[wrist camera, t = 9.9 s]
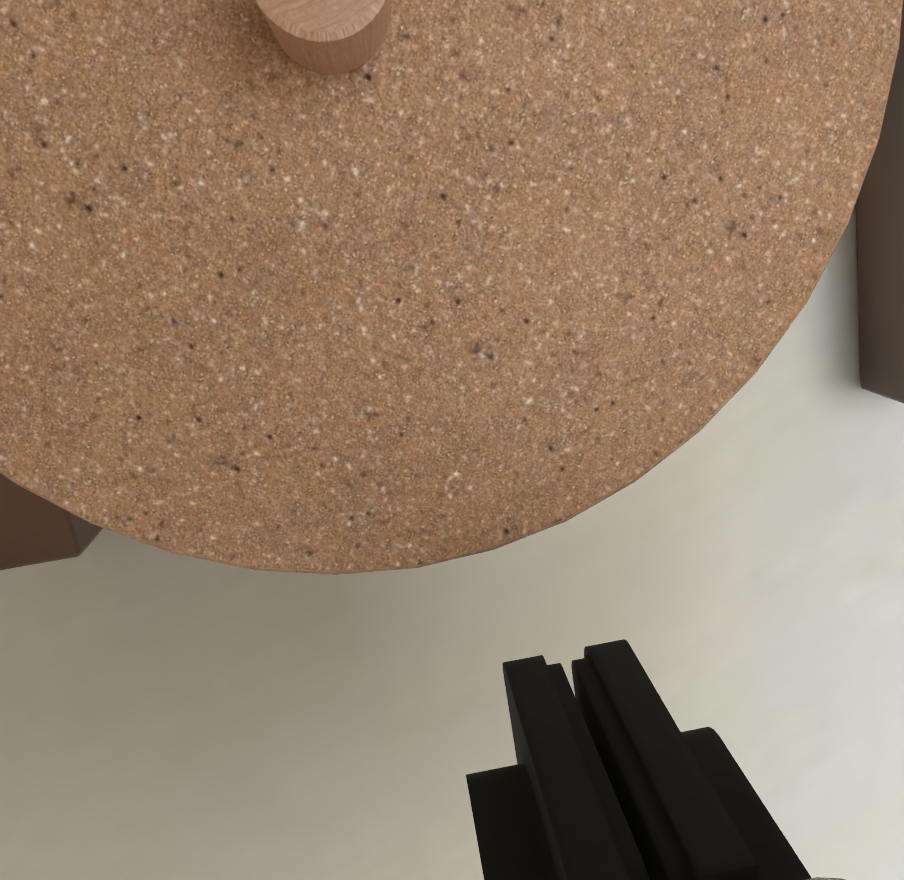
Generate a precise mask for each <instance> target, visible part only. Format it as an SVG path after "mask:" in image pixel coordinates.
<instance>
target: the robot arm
mask: <svg viewBox="0 0 904 880" xmlns="http://www.w3.org/2000/svg"><path fill="white" fill-rule="evenodd" d="M503 673H504V680H505V686H506V693H507V699H508V706H509V712H510V718H511V725H512V731H513V738H514V744H515V751H516V757H517V764H518V765H513V766H508V767H503V768H498V769H493V770H488V771H483V772H478V773H473V774H468V775H466V778H467V784H468V789H469V795H470V801H471V806H472V812H473V818H474V824H475V829H476V835H477V841H478V846H479V852H480V858H481V863H482V869H483V875H484V880H844V879H839V878H819V877H816V878H811V876H810V875H809V873H808V872H807V870H806V869H805V867H804V866H803V864H802V863H801V861H800V859H799V858H798V856H797V855H796V853H795V852H794V850H793V849H792V847H791V846H790V844H789V843H788V841H787V839H786V838H785V836H784V835H783V833H782V832H781V830H780V829H779V827H778V826H777V824H776V823H775V821H774V820H773V818H772V816H771V815H770V813H769V812H768V810H767V809H766V807H765V806H764V804H763V803H762V801H761V800H760V798H759V796H758V795H757V793H756V792H755V790H754V789H753V787H752V786H751V784H750V783H749V781H748V780H747V778H746V776H745V775H744V773H743V772H742V770H741V769H740V767H739V766H738V764H737V763H736V761H735V760H734V758H733V757H732V755H731V753H730V752H729V750H728V749H727V747H726V746H725V744H724V743H723V741H722V740H721V738H720V737H719V735H718V734H717V733H716V732H715V730H714V729H712V728H710V727H705V728H700V729H695V730H690V731H685V732H680V730H679V729H678V727H677V725H676V724H675V722H674V720H673V718H672V717H671V715H670V713H669V712H668V710H667V708H666V706H665V705H664V703H663V701H662V700H661V698H660V696H659V694H658V693H657V691H656V689H655V688H654V686H653V684H652V682H651V681H650V679H649V677H648V676H647V674H646V672H645V670H644V669H643V667H642V665H641V664H640V662H639V660H638V659H637V657H636V655H635V653H634V652H633V650H632V648H631V647H630V645H629V643H628V642H627V641H626V640H618V641H613V642H608V643H603V644H597V645H592V646H587V647H585V649H584V658H583V659H578V660H573V661H572V674H573V682H574V690H575V696H574V694H573V691H572V689H571V686H570V684H569V682H568V679H567V677H566V674H565V672H564V670H563V667H562V665H561V664H560V663H557V664H552V665H547V664H546V662H545V659H544V657H543V656H542V655H540V656H535V657H530V658H524V659H519V660H514V661H509V662H503Z"/></svg>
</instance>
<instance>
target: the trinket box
mask: <svg viewBox="0 0 904 880" xmlns="http://www.w3.org/2000/svg"><path fill="white" fill-rule="evenodd" d="M902 4H903V0H0V473H1V474H2V475H4V476H5V477H7V478H8V479H9V480H11V481H12V482H14V483H15V484H17V485H19V486H21V487H23V488H25V489H27V490H29V491H31V492H32V493H34V494H36V495H38V496H40V497H42V498H44V499H46V500H48V501H50V502H52V503H53V504H55V505H57V506H59V507H61V508H63V509H65V510H67V511H69V512H71V513H72V514H74V515H76V516H78V517H80V518H82V519H84V520H86V521H88V522H90V523H91V524H94V525H97V526H99V527H102V528H105V529H108V530H110V531H113V532H116V533H119V534H122V535H124V536H127V537H130V538H133V539H136V540H138V541H141V542H144V543H147V544H150V545H152V546H155V547H158V548H161V549H164V550H166V551H169V552H172V553H176V554H181V555H185V556H190V557H195V558H200V559H205V560H210V561H215V562H219V563H224V564H229V565H234V566H239V567H244V568H249V569H253V570H266V571H283V572H300V573H317V574H334V575H338V574H350V573H362V572H374V571H385V570H397V569H409V568H418V567H422V566H426V565H431V564H435V563H439V562H443V561H448V560H452V559H456V558H460V557H465V556H469V555H473V554H477V553H482V552H486V551H490V550H494V549H496V548H499V547H501V546H504V545H507V544H509V543H512V542H514V541H517V540H519V539H522V538H524V537H527V536H529V535H532V534H535V533H537V532H540V531H542V530H545V529H547V528H550V527H552V526H555V525H557V524H560V523H563V522H565V521H567V520H569V519H571V518H573V517H574V516H576V515H578V514H579V513H581V512H583V511H585V510H586V509H588V508H590V507H592V506H593V505H595V504H597V503H599V502H600V501H602V500H604V499H606V498H607V497H609V496H611V495H613V494H614V493H616V492H618V491H620V490H621V489H623V488H625V487H627V486H628V485H630V484H632V483H634V482H635V481H637V480H638V479H639V478H641V477H642V476H643V475H644V474H646V473H647V472H648V471H649V470H651V469H652V468H653V467H655V466H656V465H657V464H658V463H660V462H661V461H662V460H664V459H665V458H666V457H667V456H669V455H670V454H671V453H673V452H674V451H675V450H676V449H678V448H679V447H680V446H682V445H683V444H684V443H685V442H687V441H688V440H689V439H690V438H692V437H693V436H694V435H696V434H697V433H698V432H699V431H700V430H701V429H702V428H703V427H704V426H705V425H706V424H707V423H708V422H709V421H710V420H711V419H712V418H713V417H714V416H715V415H716V414H717V413H718V412H719V411H720V410H721V408H722V407H723V406H724V405H725V404H726V403H727V402H728V401H729V400H730V399H731V398H732V397H733V396H734V395H735V394H736V393H737V392H738V391H739V390H740V389H741V388H742V387H743V386H744V384H745V383H746V382H747V381H748V380H749V379H750V378H751V377H752V376H753V375H754V374H755V373H756V372H757V371H758V369H759V368H760V366H761V365H762V364H763V362H764V361H765V360H766V358H767V357H768V355H769V354H770V353H771V351H772V350H773V348H774V347H775V346H776V344H777V343H778V342H779V340H780V339H781V337H782V336H783V335H784V333H785V332H786V330H787V329H788V328H789V326H790V325H791V324H792V322H793V321H794V319H795V318H796V317H797V315H798V314H799V312H800V311H801V310H802V308H803V307H804V306H805V304H806V303H807V301H808V299H809V297H810V295H811V293H812V291H813V289H814V288H815V286H816V284H817V282H818V280H819V278H820V276H821V274H822V272H823V271H824V269H825V267H826V265H827V263H828V261H829V259H830V257H831V255H832V254H833V252H834V250H835V248H836V246H837V244H838V242H839V240H840V238H841V237H842V235H843V233H844V231H845V229H846V227H847V225H848V222H849V220H850V217H851V214H852V212H853V209H854V206H855V203H856V201H857V198H858V195H859V192H860V190H861V187H862V184H863V181H864V179H865V176H866V173H867V171H868V168H869V165H870V162H871V160H872V157H873V154H874V151H875V149H876V146H877V143H878V140H879V137H880V132H881V127H882V123H883V118H884V114H885V109H886V104H887V100H888V95H889V91H890V86H891V81H892V77H893V72H894V68H895V63H896V58H897V54H898V49H899V42H900V29H901V17H902Z"/></svg>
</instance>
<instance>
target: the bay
mask: <svg viewBox="0 0 904 880" xmlns="http://www.w3.org/2000/svg"><path fill="white" fill-rule="evenodd" d="M856 202H857V240H858V278H859V317H860V355H861V387H862V389H865V390H868V391H871V392H874V393H876V394H879V395H882V396H885V397H888V398H891V399H893V400H896V401H899V402H902V403H904V0H903V4H902V17H901V29H900V42H899V49H898V54H897V58H896V63H895V68H894V72H893V77H892V81H891V86H890V91H889V95H888V100H887V104H886V109H885V114H884V118H883V123H882V127H881V132H880V137H879V140H878V143H877V146H876V149H875V151H874V154H873V157H872V160H871V162H870V165H869V168H868V171H867V173H866V176H865V179H864V181H863V184H862V187H861V190H860V192H859V195H858V198H857V201H856ZM102 529H103V528H102V527H99V526H97V525H94V524H91V523H90V522H88V521H86V520H84V519H82V518H80V517H78V516H76V515H74V514H72V513H71V512H69V511H67V510H65V509H63V508H61V507H59V506H57V505H55V504H53V503H52V502H50V501H48V500H46V499H44V498H42V497H40V496H38V495H36V494H34V493H32V492H31V491H29V490H27V489H25V488H23V487H21V486H19V485H17V484H15V483H14V482H12V481H11V480H9V479H8V478H7V477H5V476H4V475H2V474H1V473H0V570H4V569H10V568H16V567H21V566H27V565H33V564H38V563H44V562H49V561H55V560H61V559H66V558H72V557H77V556H79V555H80V554H81V553H82V552H83V551H84V550H85V549H86V547H87V546H88V545H89V544H90V543H91V542H92V540H93V539H94V538H95V537H96V536H97V535H98V533H99V532H100V531H101V530H102Z"/></svg>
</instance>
